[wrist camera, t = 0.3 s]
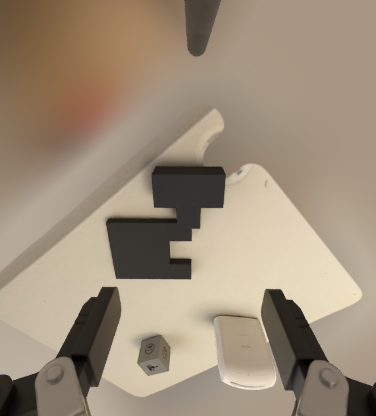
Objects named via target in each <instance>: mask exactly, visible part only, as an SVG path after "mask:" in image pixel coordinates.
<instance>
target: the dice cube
mask: <svg viewBox="0 0 376 416" xmlns="http://www.w3.org/2000/svg"><path fill="white" fill-rule="evenodd" d="M169 361H170V346H169V345H168V344H167V342H166V341H165V340H164V338H163V337H162V336H161V335H160V336H156V337H153V338H149V339H146V340H142V342H141V347H140V352H139V357H138V362H137V364H138V365H139V366H140V367H141V368H142V369H143V371H144V372H145V373H146V374H147V375H148V376H150V375H154V374H158V373H162V372H166V371H169Z"/></svg>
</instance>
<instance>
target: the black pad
mask: <svg viewBox="0 0 376 416" xmlns="http://www.w3.org/2000/svg"><path fill="white" fill-rule="evenodd" d="M106 226H107V231H108V237H109V242H110V248H111V253H112V259H113V264H114V270H115V275H116V279H191V259H170V243H169V241H192V229H184V228H177V219H108V221H107V222H106Z"/></svg>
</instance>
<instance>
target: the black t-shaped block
mask: <svg viewBox="0 0 376 416" xmlns="http://www.w3.org/2000/svg"><path fill="white" fill-rule="evenodd" d="M225 178H226V174H225V172H224V170H223V168H222V167H163V166H156V167H155V169H154V171H153V173H152V186H153V200H154V208H177V228H184V229H200V213H201V208H223V204H224V191H225Z"/></svg>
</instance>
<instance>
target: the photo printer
mask: <svg viewBox="0 0 376 416" xmlns="http://www.w3.org/2000/svg"><path fill="white" fill-rule="evenodd" d="M213 324H214V333H215V341H216V350H217V358H218V366H219V372H220V377H221V380H222V381H223V382H225V383H227V384H229V385H231V386H234V387H237V388H241V389H248V390H259V389H265V388H269V387H271V386H273V385H274V383H275V382H276V371H275V366H274V363H273V360H272V357H271V354H270V351H269V348H268V345H267V342H266V339H265V335H264V332H263V329H262V326H261V323H260V321H259V320H257V319H251V318H242V317H231V316H218V317H216V318H215V319H214V321H213Z"/></svg>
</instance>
